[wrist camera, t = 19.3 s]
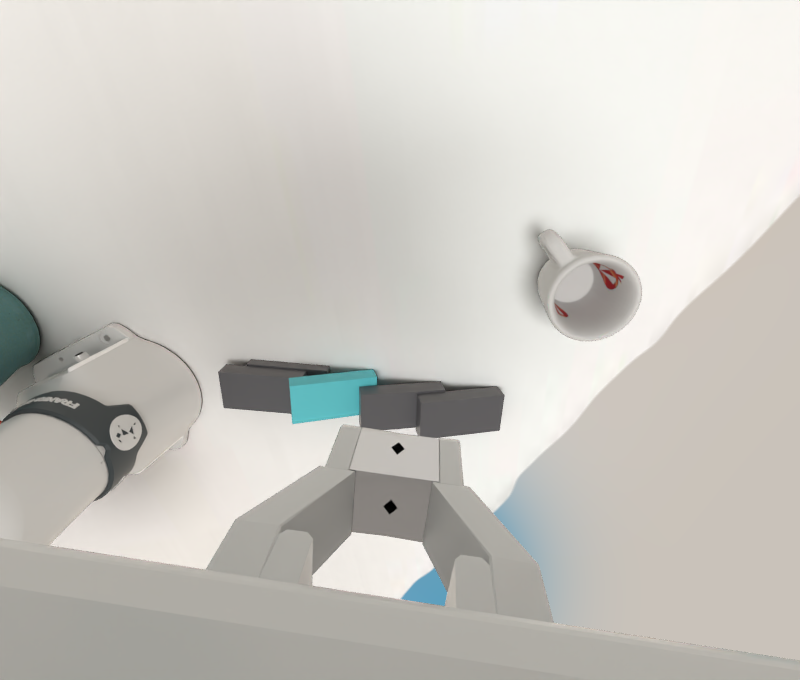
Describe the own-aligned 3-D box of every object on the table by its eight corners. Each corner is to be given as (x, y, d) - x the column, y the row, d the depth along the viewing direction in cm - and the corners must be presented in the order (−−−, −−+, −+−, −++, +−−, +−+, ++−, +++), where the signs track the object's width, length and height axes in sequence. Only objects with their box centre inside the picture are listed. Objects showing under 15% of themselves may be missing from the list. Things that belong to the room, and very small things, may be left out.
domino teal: (377, 376, 46) (289, 386, 43) (376, 412, 48) (292, 424, 45) (373, 369, 48) (288, 377, 45) (372, 403, 50) (291, 414, 47)
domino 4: (504, 395, 45) (421, 403, 44) (499, 430, 47) (419, 439, 46) (497, 386, 47) (416, 394, 45) (492, 420, 49) (415, 429, 47)
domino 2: (326, 370, 47) (246, 363, 48) (327, 406, 49) (250, 398, 50) (330, 363, 49) (253, 356, 50) (331, 397, 51) (257, 390, 52)
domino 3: (445, 389, 46) (360, 395, 44) (442, 425, 48) (360, 431, 46) (440, 381, 48) (359, 386, 46) (437, 415, 50) (359, 422, 48)
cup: (499, 250, 41) (513, 266, 34) (568, 200, 39) (599, 207, 31) (552, 327, 44) (575, 358, 36) (620, 285, 41) (659, 309, 34)
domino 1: (301, 378, 46) (218, 372, 46) (303, 414, 47) (223, 407, 48) (306, 370, 47) (226, 364, 48) (308, 405, 49) (231, 399, 50)
